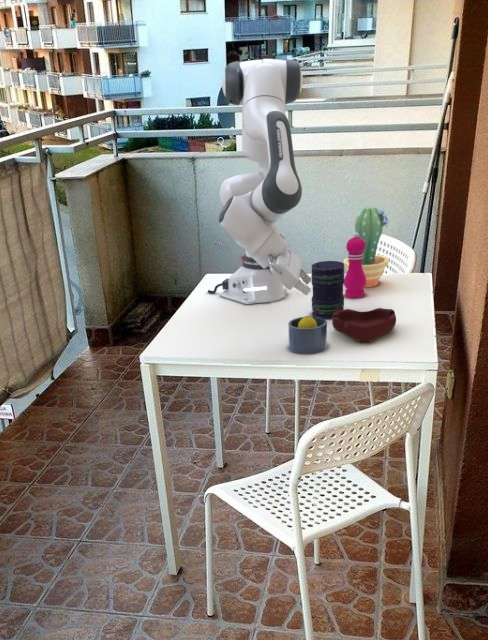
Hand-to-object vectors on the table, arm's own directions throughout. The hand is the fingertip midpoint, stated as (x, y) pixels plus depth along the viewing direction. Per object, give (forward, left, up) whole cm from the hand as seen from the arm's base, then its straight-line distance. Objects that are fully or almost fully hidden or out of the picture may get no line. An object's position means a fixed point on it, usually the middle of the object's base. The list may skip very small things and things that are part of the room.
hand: (309, 287), depth 183 cm
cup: (0, 0, -17) cm, 17 cm away
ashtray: (+8, +16, -17) cm, 24 cm away
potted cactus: (-18, +59, -17) cm, 64 cm away
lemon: (-1, 0, -16) cm, 16 cm away
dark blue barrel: (-11, +26, -17) cm, 33 cm away
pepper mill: (-14, +46, -17) cm, 51 cm away
